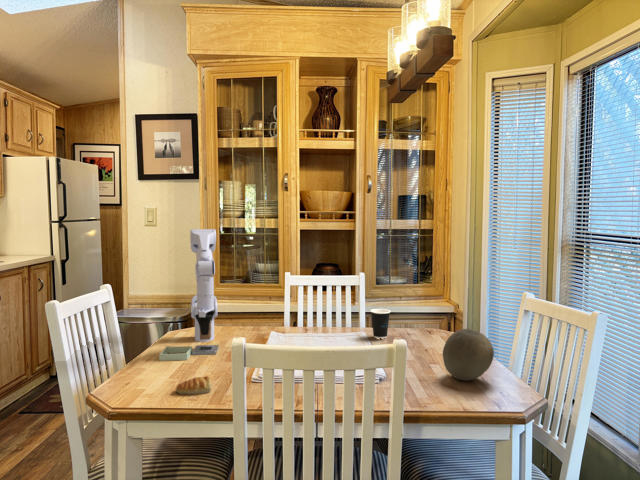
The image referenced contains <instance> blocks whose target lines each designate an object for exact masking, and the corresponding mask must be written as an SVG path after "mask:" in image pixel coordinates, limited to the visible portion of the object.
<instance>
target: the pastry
mask: <svg viewBox="0 0 640 480" xmlns="http://www.w3.org/2000/svg"><path fill="white" fill-rule="evenodd" d="M175 391H176V393H178V394H180V395H191V396H192V395H202V394H208V393H210V392H211V391H212V384H211V379H210V376H209V375H206V376H198V377H196V376H195V377H193V378H190V379H188V380H185V381H183V382H181V383H179V384H178V385H176V388H175Z"/></svg>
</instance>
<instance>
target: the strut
mask: <svg viewBox="0 0 640 480" xmlns="http://www.w3.org/2000/svg"><path fill="white" fill-rule="evenodd" d="M210 338H211V321H210V325H209V332H208V335H202V334H201V331H200V340H207V339H210Z"/></svg>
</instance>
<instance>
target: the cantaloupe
mask: <svg viewBox="0 0 640 480" xmlns="http://www.w3.org/2000/svg"><path fill="white" fill-rule="evenodd" d="M494 355H495V351H494V347H493V345H492V342H491V341H490V340H489V338H488V337H487V336H486V335H484V333H482V332H480V331H477V330H475V329H471V328H461V329H458V330H456V331H454V332H453V333H452V334H451V335H449V337H448V338H447V339H446V341H445V344H444V346H443V349H442V359H443V360H442V361H443V364H444V367H445V370H446V371H447V372H448V373H449V374H450V376H452V377H454V378H455V379H457V380H459V381H463V382H464V381H473V380H476V379H479V378H480V377H482V376H483V375H484V374H485V373H486V372H487V371H488V370H489V368H490V367H491V365H492V362H493V360H494Z"/></svg>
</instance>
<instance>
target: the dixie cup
mask: <svg viewBox="0 0 640 480" xmlns="http://www.w3.org/2000/svg"><path fill="white" fill-rule="evenodd" d="M370 313H371V323H372V333H373V334H372V335H373V338H374V337H375V338H386V339H387V336H388V329H389V323H390V322H389V321H390V313H391V310H389V309H386V308H373V309H370ZM375 338H374V339H375Z"/></svg>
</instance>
